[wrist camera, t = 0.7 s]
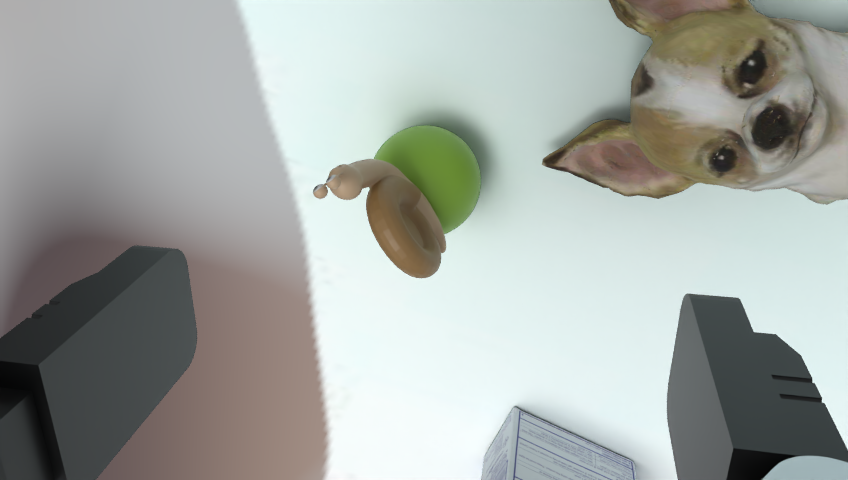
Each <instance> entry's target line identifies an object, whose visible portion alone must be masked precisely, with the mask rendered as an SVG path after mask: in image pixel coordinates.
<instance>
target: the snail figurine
mask: <svg viewBox="0 0 848 480" xmlns="http://www.w3.org/2000/svg"><path fill="white" fill-rule="evenodd" d="M326 185H327V186H328V187H329V188H330V190H331V191H332V193H333V194H334V195H335V196H337V197H339V198H341V199H344V200H351V199H354V198H356V197H357V196H358V195H359V194H360V192H361V190H362V188H366V187H369V188H370V190H369V192H368V195H367V200H366V210H367V216H368V220H369V224H370V226H371V229H372V232H373V234H374V236H375V238H376V240H377V242H378V243H379V245H380V247H381V248H382V250H383V251H384V252H385V254H386V255H387V256H388V258H389V259H390V260H391V261H392V262H393V263H394V264H395V265H396V266H397V267H398V268H399V269H401V270H402V271H403V272H405V273H406V274H408V275H410V276H412V277H416V278H427V277H430V276H432V275H433V274H434V273H435V272H436V271H437V270H438V268H439V266H440V263H441V253H443V252H445V250H446V241H445V236H444V234H446V233H448V232H450V231H452V230H454V229H455V228H457V227H458V226H460V225H461V224H462V223H463V222H464V221H465V220H466V219H467V218H468V217H469V215H470V214H471V213H472V211H473V209H474V207H475V205H476V203H477V201H478V198H479V194H480V188H481V175H480V169H479V165H478V162H477V160H476V157H475V155H474V154H473V152H472V150H471V149H470V148H469V146H468V145H467V144H466V143H465V142H464V141H463V140H462V139H461V138H460V137H458V136H457V135H456V134H454V133H452V132H450V131H448V130H446V129H443V128H440V127H436V126H428V125H422V126H414V127H410V128H407V129H404V130H402V131H400V132H398V133H396V134H394V135H393V136H392V137H390V138H389V139H388V140H387V141H386V142H385V143H384V144H383V145H382V146H381V148H380V149H379V150H378V152H377V154H376V155H375V157H374V159H366V160H361V161H357V162H354V163H351V164H349V165H346V164H343V165H339V166H337V167H336V168H334V169H332V170H331V172H330V174H329V177H328V179H327V181H326V183H325V184H324V185H323V184H319V185H318V186H316V187H315V188H314V190H313V194H314V196H315V197H317V198H319V199H321V198H324V197H325V196H326V195H327V193H328V190H327V187H326Z"/></svg>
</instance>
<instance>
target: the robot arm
mask: <svg viewBox="0 0 848 480" xmlns="http://www.w3.org/2000/svg"><path fill="white" fill-rule="evenodd" d="M196 343H197V328H196V321H195V314H194V307H193V300H192V294H191V287H190V279H189V272H188V265H187V261H186V258H185V256H184V254H183V253H182V251H180V250H178V249H172V248H160V247H149V246H132V247H130V248H129V249H128V250H126V251H125V252H124V253H122V254H121V255H120V256H119V257H117V258H116V259H115V260H114V261H112V262H111V263H110V264H108V265H107V266H106V267H105V268H104V269H102V270H101V271H99V272H98V273H95V274H93V275H91V276H89V277H86V278H84V279H82V280H80V281H78V282H75V283H73V284H71V285H69V286H68V287H67V288H65V289H64V290H63V291H62V292H60V293H59V294H58V295H56V296H55V297H54V298H52V299H51V300H50V303H49V304H45V305H43V306H42V307H41V308H39V309H38V310H37V311H35V312H34V313H33V314H32V317H31V318H26V319H25V320H24V321H22V322H21V323H20V324H18V325H17V326H16V327H14V328H13V329H12V330H11V331H9V332H8V333H7V334H5V335H4V336H3V337H1V338H0V480H96V479H97V478H98V476H99V475H100V474H101V473H102V471H103V470H104V469H105V468H106V467H107V465H108V464H109V463H110V462H111V460H112V459H113V458H114V457H115V456H116V455H117V453H118V452H119V451H120V450H121V448H122V447H123V446H124V445H125V444H126V442H127V441H128V440H129V439H130V438H131V436H132V435H133V434H134V433H135V431H136V430H137V429H138V428H139V426H140V425H141V424H142V423H143V422H144V421H145V419H146V418H147V417H148V416H149V414H150V413H151V412H152V411H153V410H154V408H155V407H156V406H157V405H158V404H159V402H160V401H161V400H162V399H163V398H164V396H165V395H166V394H167V393H168V392H169V390H170V389H171V388H172V387H173V385H174V384H175V383H176V382H177V380H178V379H179V378H180V377H181V376H182V375H183V373H184V372H185V371H186V370H187V368H188V367H189V365H190V364H191V362H192V359H193V356H194V353H195V349H196ZM667 419H668V427H669V432H670V438H671V444H672V449H673V455H674V461H675V466H676V472H677V477H678V480H848V450H847V448H846V446H845V444H844V442H843V440H842V438H841V436H840V434H839V432H838V430H837V428H836V426H835V424H834V422H833V420H832V417H831V415H830V413H829V411H828V409H827V407H826V405H825V403H822V397H821V395H820V393H819V391H818V389H817V387H816V385H815V383H812V377H811V375H810V373H809V371H808V369H807V367H806V365H805V363H804V361H803V359H802V357H801V355H800V354H798V353H797V352H796V351H795V350H794V349H792V348H791V347H790V346H789V345H788V344H786V343H785V342H784V341H783V340H782V339H781V338H779V337H778V336H777V335H776V334H766V333H755V332H753V329H752V327H751V325H750V322H749V320H748V317H747V315H746V312H745V310H744V308H743V305H742V303H741V301H740V299H739V298H733V297H721V296H709V295H697V294H686V295H685V296H684V298H683V301H682V305H681V310H680V316H679V322H678V328H677V334H676V340H675V346H674V352H673V358H672V364H671V370H670V377H669V383H668V393H667Z"/></svg>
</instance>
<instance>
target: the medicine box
mask: <svg viewBox="0 0 848 480" xmlns="http://www.w3.org/2000/svg"><path fill="white" fill-rule="evenodd" d="M481 480H637V479H636V472H635V464H634V462H633V461H631V460H629V459H627V458H625V457H622V456H620V455H618V454H616V453H613V452H611V451H609V450H607V449H605V448H602V447H600V446H598V445H596V444H594V443H591V442H589V441H587V440H585V439H583V438H580V437H578V436H576V435H574V434H572V433H570V432H567V431H565V430H563V429H561V428H558V427H556V426H554V425H552V424H550V423H548V422H545V421H543V420H541V419H539V418H536V417H534V416H532V415H530V414H528V413H525V412H523V411H521V410H519V409H518V408H516V407H514V408H513V409H512V411H511V413H510V414H509V416H508V418H507V419H506V421H505V423H504V424H503V426H502V428H501V429H500V431H499V433H498V435H497V436H496V438H495V440H494V441H493V443H492V445H491V446H490V448H489V450H488V452H487V453H486V455H485V457H484V462H483V470H482V477H481Z"/></svg>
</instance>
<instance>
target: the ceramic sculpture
mask: <svg viewBox="0 0 848 480" xmlns="http://www.w3.org/2000/svg"><path fill="white" fill-rule="evenodd" d="M609 2H610V4H611V6H612V8H613V10H614V12H615V14H616V16H617V18H618V19H619V20H620V21H622V22H623V23H624V24H625V25H626V26H627V27H630V28H632V29H634V30H636V31H637V32H639V33H640V34H643V35H647V36H649V37H650V38H652V41H653V43H652V45H651V46H650V48H649V49H648V51H647V52H646V54H645V55H644V57H643V58H642V60H641V61H640V63H639V65H638V67H637V70H636V72H635V74H634V76H633V79H632V81H631V101H630V119H631V122H630V123H626V122H623V121H619V120H608V119H607V120H603V121H599V122H596V123H593V124H592V125H591V126H589V127H588V128H587V129H585V130H584V131H583V132H582V133H580V134H579V135H578V136H577V137H575V138H574V139H573V140H571V141H570V142H569V143H568V144H566V145H565V146H564V147H562V148H560V149H558V150H556V151H554V152H553V153H551V154H549V155H548V156H546V157H545V158H544V159H543V162H542V165H544V166H546V167H549V168H552V169H556V170H560V171H565V172H569V173H571V174H573V175H575V176H577V177H580V178H583V179H585V180H587V181H589V182H591V183H594V184H597V185H599V186H601V187H603V188H609V189H611V190H612V191H613V192H616V193H620V194H622V195H624V196H636V195H640V196H648V197H652V198H657V199H659V198H662V197H666V196H669V195H673V194H676V193H679V192H682V191H684V190H685V189H687V188H689V187H690V186H692V185H694V184H695V183H705V184H713V185H720V186H726V187H729V188H733V189H745V190H750V191H761V190H765V189H780V188H787V189H790V190H792V191H795V192H799V193H801V194H803V195H805V196H806V197H807V198H808V199H810V200H812V201H814V202H816V203H820V204H829V203H832V202H834V201H836V200H844V199H848V32H846V33H841V32H836V31H829V30H826V29H824V28H821V27H815V26H813V25H812V24H811V22H808V21H798V20H791V19H787V18H781V19H777V18H769V17H767V16H765V15H763V14H761V13H758V12H757V11H756V10H755V9H754V7H753V6H752V4H751V3H750V2H749V0H609Z"/></svg>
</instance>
